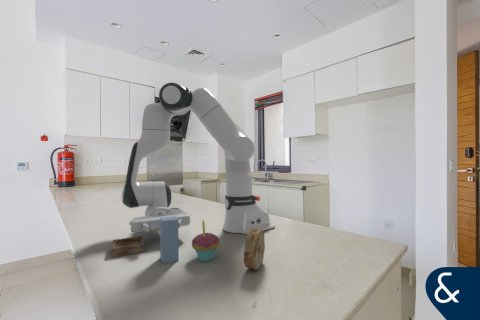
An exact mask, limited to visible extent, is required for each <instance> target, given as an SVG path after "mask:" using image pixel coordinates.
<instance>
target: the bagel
mask: <svg viewBox="0 0 480 320" xmlns="http://www.w3.org/2000/svg"><path fill="white" fill-rule="evenodd" d="M265 243H266V242H265V232H264V231H262V230H260V229H254V230H252V231H250V232H249V233H248V234H246V236H245V242H244V250H243V264H244V266H245V267H246V268H248V269H250V270H251V269H252V270H255V271H257V270H258V269H260V268H261V266H262V265H263V262H264V257H265V249H266V247H265V246H266V244H265Z"/></svg>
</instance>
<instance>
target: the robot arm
mask: <svg viewBox="0 0 480 320" xmlns="http://www.w3.org/2000/svg"><path fill="white" fill-rule="evenodd" d="M158 99H159V102H151V103H149V104H147V105H145V106H144V109H143V114H142V119H141V120H142V122H141V136H140V138H139V139H138V141H136V142H135V143H133V145H132V147H131V148H132V149H131V152H130V157H129V160H128V166H127V172H126V177H125V182H124V186H123V188H122V191H121V202H122V204H123V205H124V206H126V207H127V208H129V209H134V208H139V207H146V208H145V210H144V216H138V217H133V218H132V219H131V220H130V221H129V226H130V232H131V233H140V232H146V233H150V232H152V231H156V232H160V218H164V217H173V216H175V217H176V218H177V219H178V229H179V228H181V227H185V226H189V225H190V224H191V215H190V214H189V213H188V212H186V211H184V210H183V209H182V208H181V207H170V205H171V203H172V191H171V187H170V186H169V184H167V182H166V181H164V180H162V181H161V180H160V181H144V182H143V181H142V182H139V181H138V180H137V179H138V174H139V169H140V164H141V162H142V161H143V159H144V158H147V157H148V156H151V155H155V154H156V153H157V154H158V153H160V152H162V151H163V150H165V149H166V148H168V146H169V144H170V140H171V122H172V121H171V120H172V119H175V118H180V117H183V116H186V115H187V114H189V113H190V112H192V113H194V114H195V116H196V118H198V120H199V121H200V122H201V124H202V125H203V127H204V128H205V129H206V131H208V133H209V134H210V135H211V137H212V138H213V139H214V140H215V141H216V143H218V145H219V146H220V147H221V149H223V150H224V165H225V167H224V168H225V194H226V195H224V196H225V197H224V198H225V199H224V205H225V208H224V209H225V215H224V220H223V221H224V222H223V225H222V230H223V231H225V232H227V233H232V234H244V235H247V234H248V233H249V232H250V231H252V230H254V229H260V230H262V231H263V232H264V231H267V230H271V229H275V228H276V226H275V224H274V222H272V221H270V220H271V219H270V216H269V213H268V211H267V210H265V209H264V208H263V207H261V206H260V205H259V204H258V203H257V202H259V201H261V197H260V196H259V195H253V182H252V181H253V176H252V171H251V170H252V169H251V163H250V160H251V159H252V158H253V155H254V154H255V153H254V152H255V145H254V142H253V140H252V139H250V138H249V136H248V135H247V134H246V133H245V131H243V129H242V128H241V127H240V126H239V125H238V124H237V123H236V122H235V121H234V120H233V118H232V117H231V116H230V114H229V113H228V112H227V111H226V109H225V108H224V107H223V105H222V104H221V103H220V101H219V100H218V99H217V98H216V97H215V95H213V94H212V93H211V91H209V90H208V89H207V88H205V87H199V88H197V89H195V90H193V91H192V90H191V89H190V88H188V87H186V86H184V85H181V84H179V83H177V82H167V83H164V84H163V85H162V87H161V88H160V90H159V92H158ZM256 201H257V202H256Z"/></svg>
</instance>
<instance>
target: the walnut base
mask: <svg viewBox="0 0 480 320" xmlns="http://www.w3.org/2000/svg"><path fill="white" fill-rule="evenodd" d="M110 251H111V258H115V257H122V256H126V255H127V256H128V255H132V254H138V253H139V254H140V253H144V241H143V237H142V235H139V236H132V237H127V238H120V239H113V240H112V243H111V250H110Z"/></svg>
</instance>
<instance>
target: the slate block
mask: <svg viewBox="0 0 480 320" xmlns="http://www.w3.org/2000/svg"><path fill="white" fill-rule="evenodd" d="M159 237H160V238H159V239H160V241H159V243H160V244H159V245H160V246H159V249H160V250H159V251H160V252H159V253H160V254H159V255H160V256H159V257H160V261H161V263H162V264H168V263H171V262H172V263H173V262H177V261H178V262H179V258H180V257H179V253H180V250H179V228H178V219H177V218H176V217H175V216H173V217H164V218H160V231H159Z"/></svg>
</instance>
